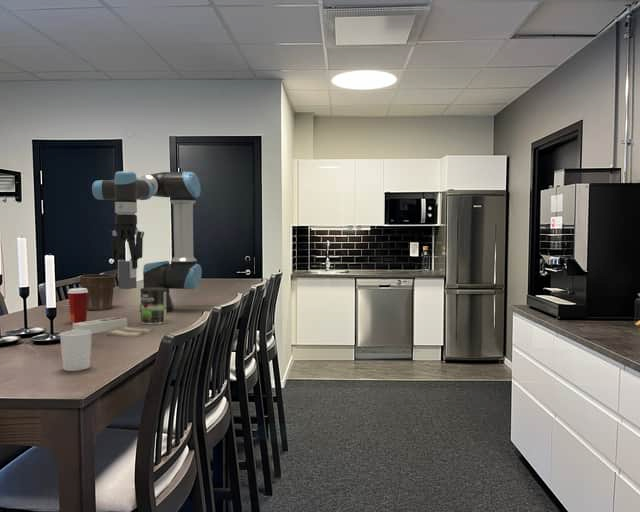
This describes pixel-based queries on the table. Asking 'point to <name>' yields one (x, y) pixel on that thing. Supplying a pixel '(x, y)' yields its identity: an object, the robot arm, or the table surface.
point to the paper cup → (78, 304)
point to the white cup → (76, 349)
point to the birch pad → (130, 331)
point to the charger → (125, 276)
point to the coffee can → (153, 305)
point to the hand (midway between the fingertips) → (127, 277)
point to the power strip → (102, 325)
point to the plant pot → (98, 290)
